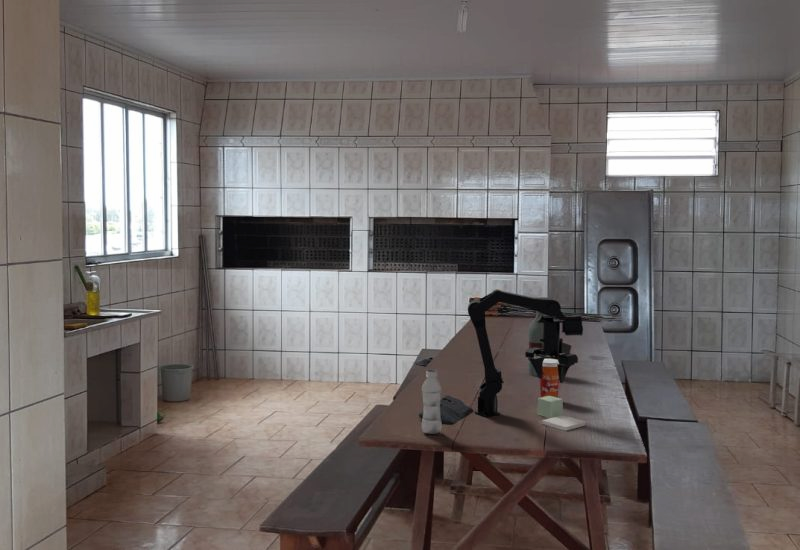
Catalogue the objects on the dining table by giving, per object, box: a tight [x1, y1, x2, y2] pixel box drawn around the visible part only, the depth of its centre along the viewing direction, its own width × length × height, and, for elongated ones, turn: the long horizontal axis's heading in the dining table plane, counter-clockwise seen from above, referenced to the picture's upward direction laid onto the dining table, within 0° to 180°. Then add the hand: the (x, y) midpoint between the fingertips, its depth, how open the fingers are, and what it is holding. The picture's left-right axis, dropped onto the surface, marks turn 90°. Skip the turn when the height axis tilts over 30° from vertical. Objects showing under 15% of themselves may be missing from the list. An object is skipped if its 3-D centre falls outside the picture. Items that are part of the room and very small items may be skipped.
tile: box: [541, 414, 586, 432], centre depth 267 cm, size 10×10×1 cm
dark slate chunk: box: [418, 394, 474, 425], centre depth 279 cm, size 15×22×5 cm
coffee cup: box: [539, 358, 560, 398], centre depth 297 cm, size 8×8×15 cm
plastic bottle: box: [421, 369, 443, 435], centre depth 257 cm, size 6×7×20 cm
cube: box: [536, 396, 564, 419], centre depth 278 cm, size 6×6×6 cm
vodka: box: [527, 311, 550, 377], centre depth 341 cm, size 9×9×30 cm
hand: (550, 380), depth 277 cm, fingers open, 9 cm apart
